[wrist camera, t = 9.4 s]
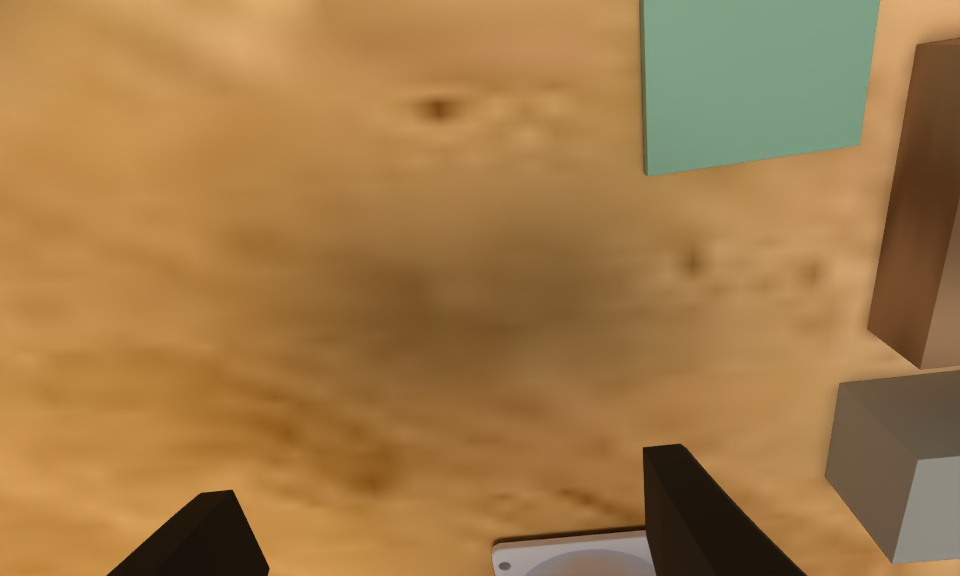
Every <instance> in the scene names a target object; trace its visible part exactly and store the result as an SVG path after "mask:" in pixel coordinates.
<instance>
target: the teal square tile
mask: <svg viewBox="0 0 960 576" xmlns="http://www.w3.org/2000/svg"><path fill="white" fill-rule="evenodd" d="M879 4H880V0H640V23H641V60H642V98H643V135H644V172H645V174H646V175H647V176H654V175H661V174H668V173H675V172H681V171H688V170H695V169H702V168H709V167H715V166H722V165H729V164H736V163H743V162H749V161H756V160H763V159H770V158H777V157H783V156H790V155H797V154H804V153H810V152H817V151H824V150H831V149H838V148H844V147H851V146H858V145H860V139H861V132H862V125H863V118H864V111H865V103H866V96H867V89H868V82H869V75H870V68H871V61H872V54H873V47H874V39H875V32H876V25H877V18H878V11H879Z"/></svg>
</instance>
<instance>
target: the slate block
mask: <svg viewBox="0 0 960 576" xmlns="http://www.w3.org/2000/svg"><path fill="white" fill-rule="evenodd" d="M825 477H826V479H827V480H828V481H829V482H830V484H831V485H832V486H833V488H834V489H835V490H836V492H837V493H838V494H839V495H840V497H841V498H842V499H843V501H844V502H845V503H846V505H847V506H848V507H849V509H850V510H851V511H852V512H853V514H854V515H855V516H856V518H857V519H858V520H859V522H860V523H861V524H862V525H863V527H864V528H865V529H866V531H867V532H868V533H869V535H870V536H871V537H872V538H873V540H874V541H875V542H876V544H877V545H878V546H879V548H880V549H881V550H882V552H883V553H884V554H885V555H886V557H887V558H888V559H889V561H890V562H891V563H892V564H899V563H912V562H925V561H938V560H951V559H960V370H959V371H949V372H940V373H931V374H921V375H912V376H902V377H893V378H884V379H874V380H865V381H856V382H846V383H840V384H839V390H838V396H837V403H836V409H835V415H834V422H833V428H832V434H831V441H830V447H829V453H828V460H827V466H826V472H825Z"/></svg>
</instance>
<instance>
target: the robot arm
mask: <svg viewBox="0 0 960 576" xmlns="http://www.w3.org/2000/svg"><path fill="white" fill-rule="evenodd" d="M643 469H644V497H645V525H646V530H641V531H630V532H619V533H607V534H596V535H585V536H574V537H563V538H551V539H540V540H529V541H518V542H507V543H499V544H497V545H495V546H494V547H493V548H492V563H493V567H494V572H495V576H807V575H806V574H805V573H804V572H803V571H802V570H801V569H800V568H799V567H798V566H797V565H796V564H795V563H793V562H792V561H791V560H790V559H789V558H788V557H787V556H786V555H785V554H784V553H783V552H782V551H781V550H780V549H779V548H778V547H777V546H776V545H775V544H774V543H773V542H772V541H771V540H770V539H769V538H768V537H767V536H766V535H765V534H764V533H763V532H762V531H761V530H760V529H759V528H758V527H757V526H756V525H755V523H754V522H753V521H752V520H751V519H750V518H749V517H748V516H747V515H746V514H745V513H744V512H743V511H742V510H741V509H740V508H739V507H738V506H737V505H736V503H735V502H734V501H733V500H732V499H731V498H730V497H729V496H728V495H727V494H726V493H725V492H724V491H723V489H722V488H721V487H720V486H719V485H718V484H717V483H716V482H715V481H714V479H713V478H712V477H711V476H710V475H709V474H708V473H707V472H706V470H705V469H704V468H703V467H702V466H701V465H700V463H699V462H698V461H697V460H696V459H695V458H694V457H693V455H692V454H691V453H690V452H689V451H688V449H687V448H685V447H684V446H683V445H681V444H672V445H663V446H653V447H643ZM269 569H270V568H269V566H268V564H267V562H266V559H265V557H264V555H263V553H262V551H261V549H260V547H259V545H258V542H257V540H256V538H255V536H254V534H253V532H252V530H251V528H250V525H249V523H248V521H247V519H246V517H245V515H244V513H243V511H242V509H241V506H240V504H239V502H238V500H237V498H236V496H235V494H234V492H233V490H225V491H215V492H206V493H200V494H199V495H198V496H196V497H195V498H194V499H193V500H191V501H190V502H189V503H188V504H187V505H185V506H184V507H183V508H182V509H181V510H180V511H178V512H177V513H176V514H175V515H174V516H173V517H171V518H170V519H169V520H168V521H167V522H166V523H165V524H164V525H162V526H161V527H160V528H159V529H158V530H157V531H156V532H155V533H153V534H152V535H151V536H150V537H149V538H148V539H147V540H146V541H145V542H143V543H142V544H141V545H140V546H139V547H138V548H137V549H136V550H135V551H133V552H132V553H131V554H130V555H129V556H128V557H127V558H126V559H125V560H123V561H122V562H121V563H120V564H119V565H118V566H117V567H116V568H114V569H113V570H112V571H111V572H110V573H109V574H108V575H107V576H268V572H269Z"/></svg>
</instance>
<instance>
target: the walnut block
mask: <svg viewBox="0 0 960 576" xmlns="http://www.w3.org/2000/svg"><path fill="white" fill-rule="evenodd" d="M867 329H868V330H869V331H870V332H872V333H873V334H874V335H876V336H877V337H878V338H879V339H881V340H882V341H883V342H885V343H886V344H887V345H889V346H890V347H891V348H892V349H894V350H895V351H896V352H898V353H899V354H900V355H902V356H903V357H904V358H906V359H907V360H908V361H909V362H911V363H912V364H913V365H915V366H916V367H917V368H919V369H920V370H921V369H931V368H940V367H950V366H959V365H960V38H956V39H949V40H943V41H937V42H931V43H924V44H918V45H917V46H916V51H915V57H914V63H913V69H912V74H911V80H910V86H909V92H908V97H907V103H906V109H905V115H904V120H903V126H902V132H901V138H900V143H899V149H898V155H897V161H896V166H895V172H894V178H893V183H892V189H891V195H890V201H889V206H888V212H887V218H886V224H885V229H884V235H883V241H882V247H881V252H880V258H879V264H878V270H877V275H876V281H875V287H874V292H873V298H872V304H871V310H870V315H869V321H868V327H867Z"/></svg>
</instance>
